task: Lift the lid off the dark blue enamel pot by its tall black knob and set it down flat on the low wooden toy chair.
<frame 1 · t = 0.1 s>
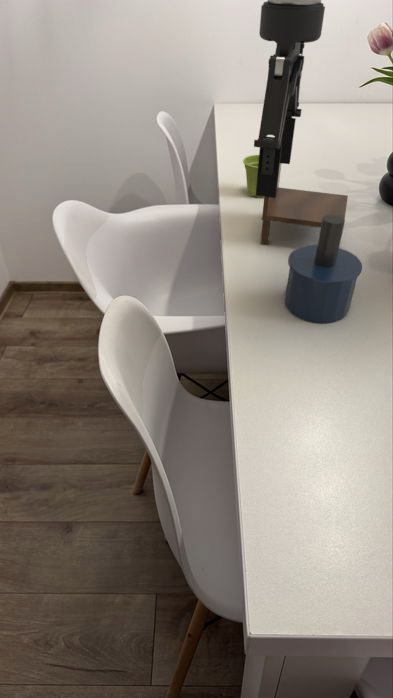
hand: (273, 178, 71), 25 cm above the table, tool pointing down, fingers open, 13 cm apart
wooden toy chair: (302, 233, 111), on the table
lid: (324, 264, 84), point 8 cm above the table, touching pot
plant pot: (258, 194, 129), on the table
pot: (316, 304, 90), on the table
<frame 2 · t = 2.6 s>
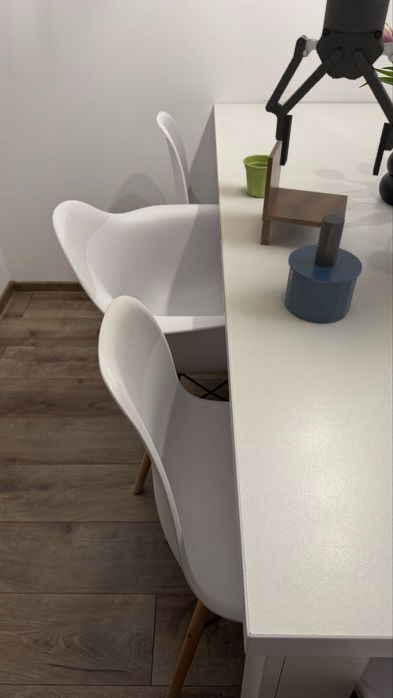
hand: (328, 167, 72), 26 cm above the table, tool pointing down, fingers open, 13 cm apart
nothing on the table moved.
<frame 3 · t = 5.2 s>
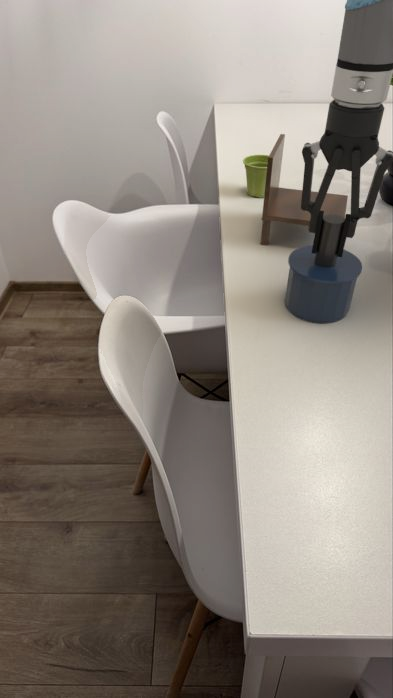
hand: (327, 251, 82), 11 cm above the table, tool pointing down, fingers closed on lid, 4 cm apart
lid: (324, 264, 84), point 9 cm above the table, touching gripper, pot
everything else where it was.
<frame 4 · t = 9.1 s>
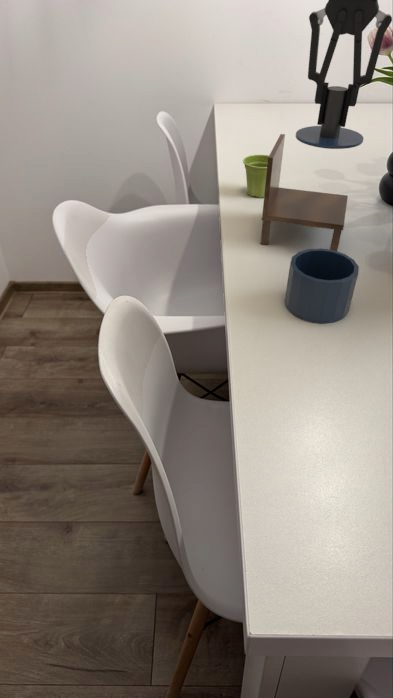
hand: (331, 123, 90), 26 cm above the table, tool pointing down, fingers closed on lid, 4 cm apart
lid: (328, 138, 92), point 23 cm above the table, touching gripper
everything else where it was.
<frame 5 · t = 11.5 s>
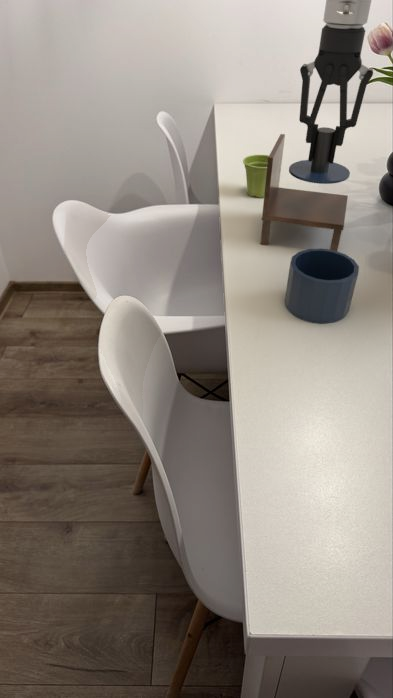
hand: (321, 159, 100), 17 cm above the table, tool pointing down, fingers closed on lid, 4 cm apart
lid: (318, 172, 102), point 14 cm above the table, touching gripper
everything else where it was.
when the fingers open (10 cm above the table, at t = 13.2 s): lid stays where it is, resting on wooden toy chair.
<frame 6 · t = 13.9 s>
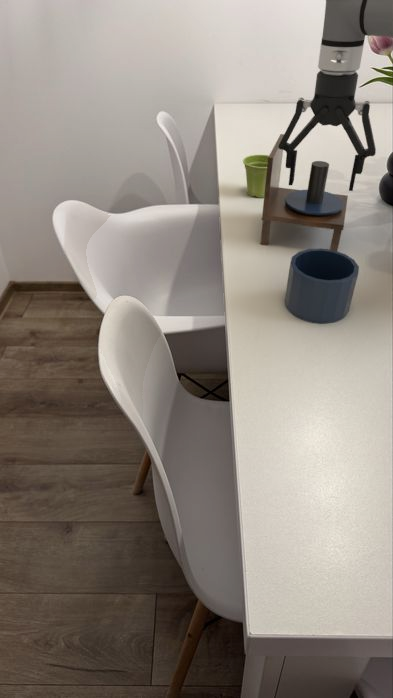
hand: (320, 185, 103), 12 cm above the table, tool pointing down, fingers open, 12 cm apart
lid: (313, 202, 106), point 8 cm above the table, touching wooden toy chair
everything else where it was.
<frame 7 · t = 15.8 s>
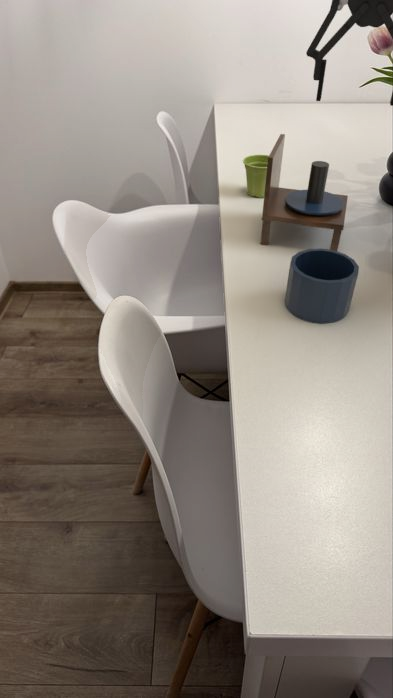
hand: (354, 101, 92), 28 cm above the table, tool pointing down, fingers open, 13 cm apart
nothing on the table moved.
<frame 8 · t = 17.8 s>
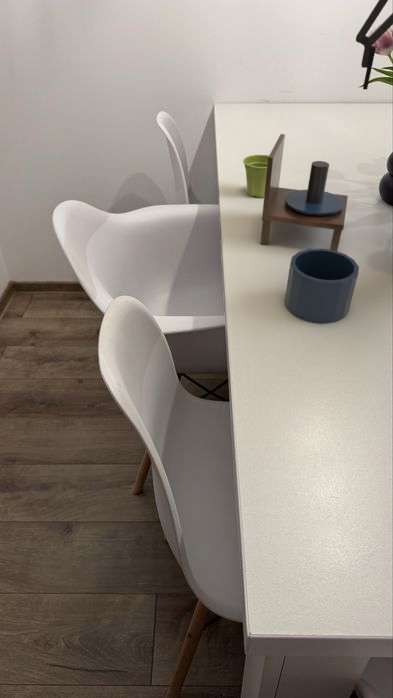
nothing on the table moved.
at the end: lid inside the target area on the wooden toy chair (0.2 cm from its centre), point 7.6 cm above the wooden toy chair's base; lid tilted 0° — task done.
